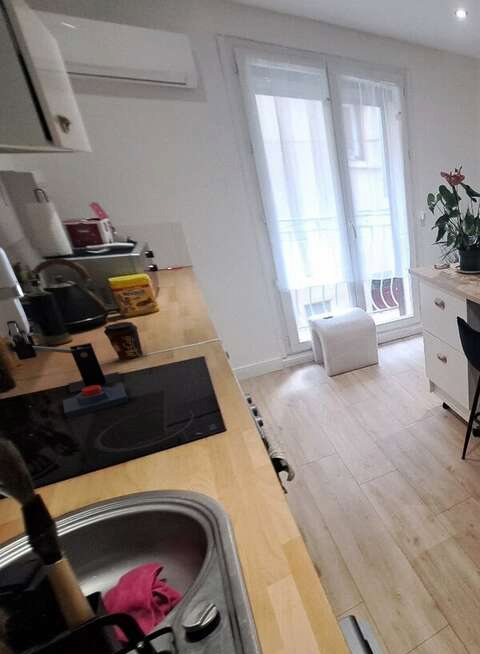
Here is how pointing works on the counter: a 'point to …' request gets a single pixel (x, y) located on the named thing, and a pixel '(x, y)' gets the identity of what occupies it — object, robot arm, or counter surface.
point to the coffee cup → (124, 340)
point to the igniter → (94, 401)
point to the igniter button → (91, 390)
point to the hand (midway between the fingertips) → (28, 353)
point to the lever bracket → (89, 369)
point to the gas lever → (53, 349)
